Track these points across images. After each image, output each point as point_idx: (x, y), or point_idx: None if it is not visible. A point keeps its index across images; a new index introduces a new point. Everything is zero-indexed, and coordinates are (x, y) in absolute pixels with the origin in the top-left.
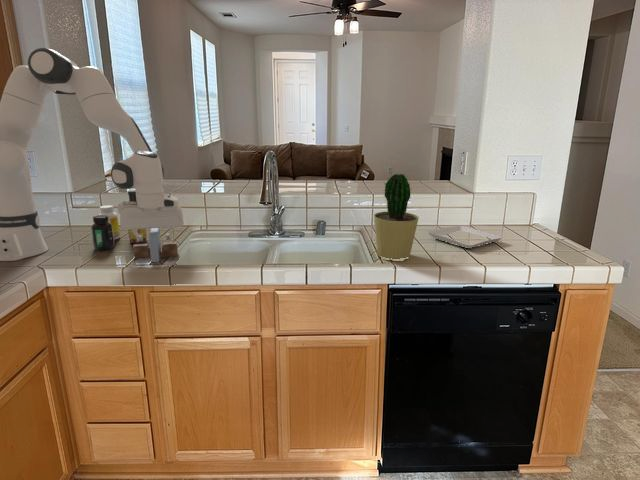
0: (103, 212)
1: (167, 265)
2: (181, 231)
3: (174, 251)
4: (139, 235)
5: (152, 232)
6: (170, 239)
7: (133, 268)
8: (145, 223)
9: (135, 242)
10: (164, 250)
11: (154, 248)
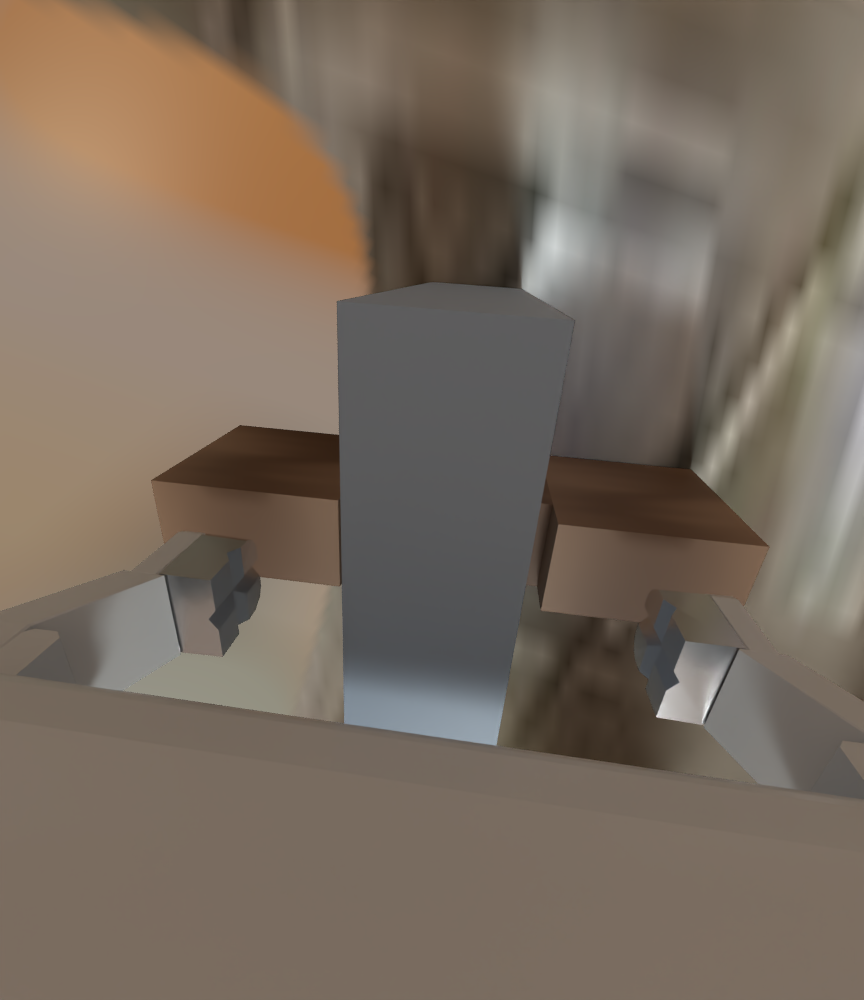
0: None
1: (319, 61)
2: None
3: (243, 445)
4: (702, 715)
5: (453, 664)
6: (194, 533)
7: (786, 57)
8: (694, 985)
9: None
10: None
11: (457, 292)
